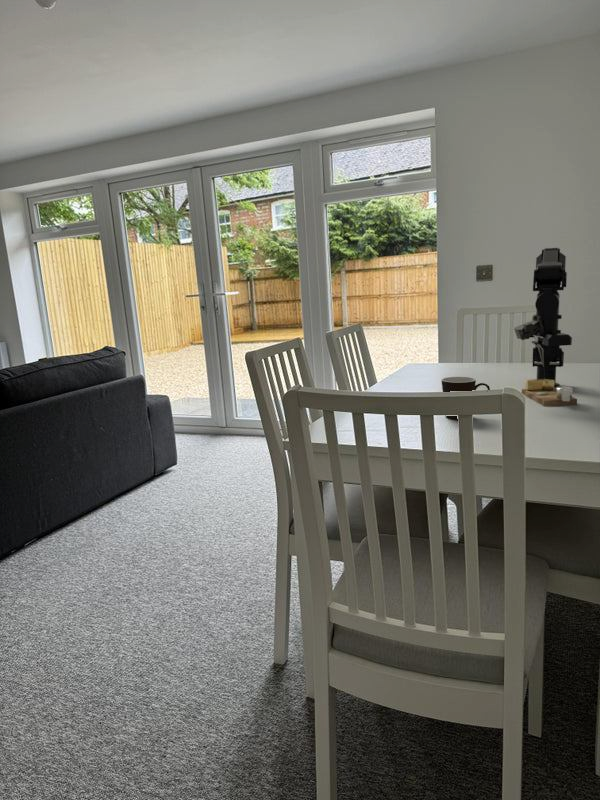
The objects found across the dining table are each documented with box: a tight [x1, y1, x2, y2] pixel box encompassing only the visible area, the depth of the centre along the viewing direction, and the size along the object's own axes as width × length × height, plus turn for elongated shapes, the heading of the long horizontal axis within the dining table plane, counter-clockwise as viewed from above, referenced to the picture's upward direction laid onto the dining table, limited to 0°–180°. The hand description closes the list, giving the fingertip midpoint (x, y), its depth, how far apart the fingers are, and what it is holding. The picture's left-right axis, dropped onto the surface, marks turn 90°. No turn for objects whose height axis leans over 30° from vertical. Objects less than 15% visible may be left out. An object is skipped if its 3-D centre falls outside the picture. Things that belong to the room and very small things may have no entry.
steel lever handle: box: [556, 385, 573, 401], centre depth 157 cm, size 8×4×3 cm, turn 160°
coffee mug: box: [440, 376, 491, 421], centre depth 148 cm, size 12×9×10 cm
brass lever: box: [524, 378, 555, 390], centre depth 170 cm, size 8×4×3 cm, turn 89°
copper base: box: [521, 388, 578, 407], centre depth 165 cm, size 17×9×2 cm, turn 179°
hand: (545, 367), depth 162 cm, fingers closed
